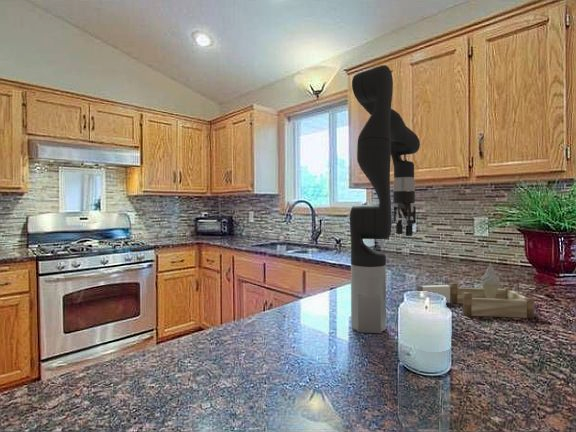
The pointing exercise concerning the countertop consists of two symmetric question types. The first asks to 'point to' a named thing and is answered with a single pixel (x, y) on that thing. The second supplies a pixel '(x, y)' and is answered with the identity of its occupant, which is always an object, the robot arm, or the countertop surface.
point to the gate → (436, 290)
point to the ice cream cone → (490, 282)
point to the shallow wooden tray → (492, 302)
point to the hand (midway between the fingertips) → (404, 234)
